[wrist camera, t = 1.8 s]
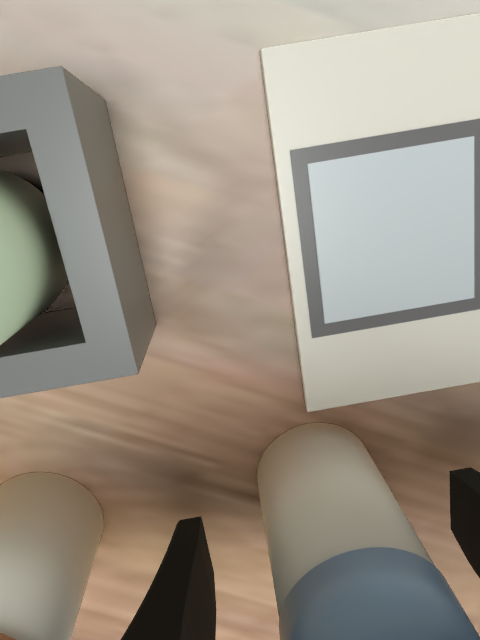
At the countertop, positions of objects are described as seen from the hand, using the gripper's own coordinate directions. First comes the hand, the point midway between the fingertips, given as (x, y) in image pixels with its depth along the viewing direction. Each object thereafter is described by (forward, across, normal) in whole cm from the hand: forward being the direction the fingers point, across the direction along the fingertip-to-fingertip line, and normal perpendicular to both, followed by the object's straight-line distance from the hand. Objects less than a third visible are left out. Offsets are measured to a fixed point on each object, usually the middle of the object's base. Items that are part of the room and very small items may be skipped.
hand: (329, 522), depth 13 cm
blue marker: (+2, 0, 0) cm, 2 cm away
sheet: (+2, -6, -8) cm, 10 cm away
